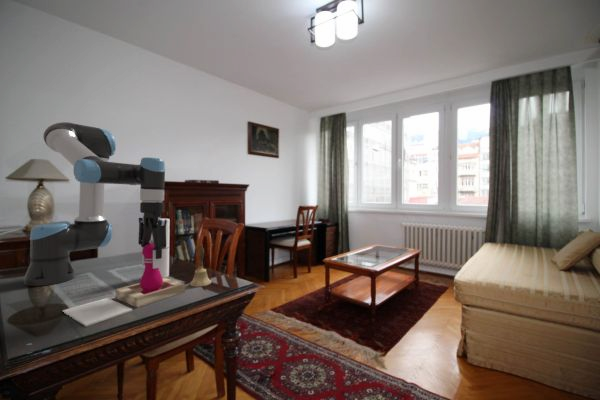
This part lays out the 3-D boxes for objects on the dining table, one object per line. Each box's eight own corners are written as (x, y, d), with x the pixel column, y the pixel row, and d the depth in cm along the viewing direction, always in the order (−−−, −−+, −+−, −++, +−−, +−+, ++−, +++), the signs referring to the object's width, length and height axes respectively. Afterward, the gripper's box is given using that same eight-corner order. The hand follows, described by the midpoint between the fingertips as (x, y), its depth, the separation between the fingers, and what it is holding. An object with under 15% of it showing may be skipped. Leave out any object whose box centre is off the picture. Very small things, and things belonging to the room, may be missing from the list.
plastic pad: (62, 312, 81) (62, 310, 81) (107, 299, 91) (107, 297, 91) (85, 326, 73) (85, 324, 73) (132, 310, 83) (132, 309, 83)
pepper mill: (152, 299, 92) (153, 241, 91) (134, 297, 93) (135, 240, 93) (167, 292, 99) (167, 238, 98) (150, 290, 100) (150, 237, 100)
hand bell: (187, 287, 105) (188, 246, 104) (191, 280, 113) (192, 242, 112) (210, 286, 106) (210, 246, 106) (212, 279, 114) (213, 242, 114)
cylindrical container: (150, 279, 113) (150, 220, 112) (150, 274, 119) (151, 218, 118) (169, 277, 116) (169, 219, 115) (168, 272, 122) (169, 218, 122)
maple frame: (115, 297, 92) (115, 289, 92) (162, 284, 107) (162, 276, 107) (137, 307, 85) (137, 298, 85) (184, 291, 100) (184, 283, 100)
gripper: (178, 202, 94) (177, 268, 94) (148, 200, 103) (147, 260, 104) (157, 202, 87) (156, 273, 88) (127, 200, 97) (126, 264, 98)
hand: (151, 266), depth 96 cm, fingers closed on pepper mill, 6 cm apart
